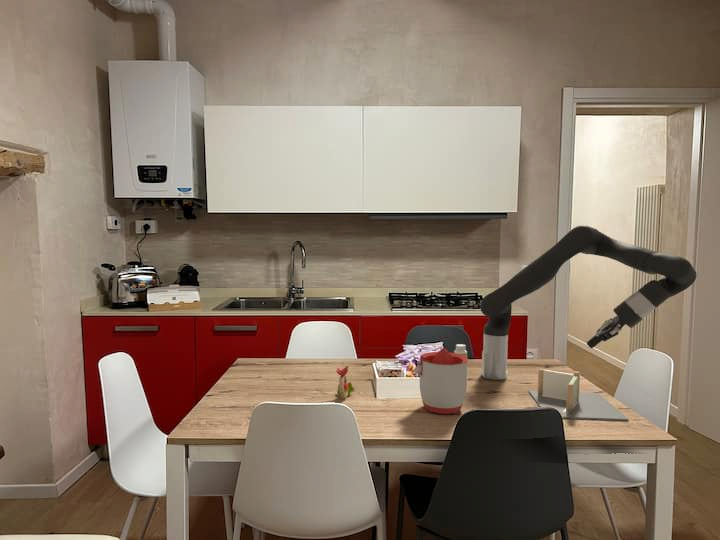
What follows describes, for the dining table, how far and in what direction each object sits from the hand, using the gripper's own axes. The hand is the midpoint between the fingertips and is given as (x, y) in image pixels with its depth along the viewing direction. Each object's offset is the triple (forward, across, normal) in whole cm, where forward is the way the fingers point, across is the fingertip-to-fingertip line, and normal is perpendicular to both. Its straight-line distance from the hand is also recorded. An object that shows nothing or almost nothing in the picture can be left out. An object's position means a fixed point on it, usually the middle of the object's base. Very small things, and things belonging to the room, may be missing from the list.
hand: (588, 345), depth 163 cm
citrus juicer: (+47, +11, -16) cm, 51 cm away
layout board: (+18, -7, +14) cm, 23 cm away
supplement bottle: (+48, -41, -16) cm, 65 cm away
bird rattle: (+70, +10, -40) cm, 81 cm away
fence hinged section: (+18, -3, +12) cm, 22 cm away
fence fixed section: (+21, -11, +10) cm, 26 cm away
